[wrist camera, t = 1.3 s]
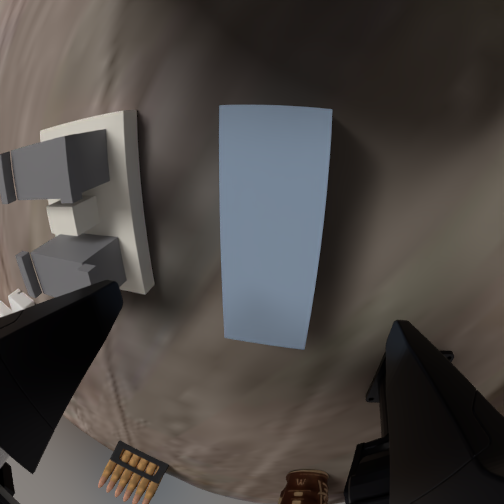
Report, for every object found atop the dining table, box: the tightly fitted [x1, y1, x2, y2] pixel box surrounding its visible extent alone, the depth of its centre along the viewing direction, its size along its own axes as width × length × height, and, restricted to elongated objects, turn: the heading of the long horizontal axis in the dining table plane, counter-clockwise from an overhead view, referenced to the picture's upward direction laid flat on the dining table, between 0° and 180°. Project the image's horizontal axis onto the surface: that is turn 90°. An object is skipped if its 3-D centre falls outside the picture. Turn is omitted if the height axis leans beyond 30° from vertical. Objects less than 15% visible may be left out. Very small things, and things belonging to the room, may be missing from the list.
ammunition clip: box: [98, 441, 169, 504], centre depth 38 cm, size 11×2×12 cm, turn 70°
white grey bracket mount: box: [0, 110, 155, 298], centre depth 17 cm, size 13×9×6 cm
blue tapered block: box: [219, 105, 332, 350], centre depth 15 cm, size 12×4×5 cm, turn 178°
